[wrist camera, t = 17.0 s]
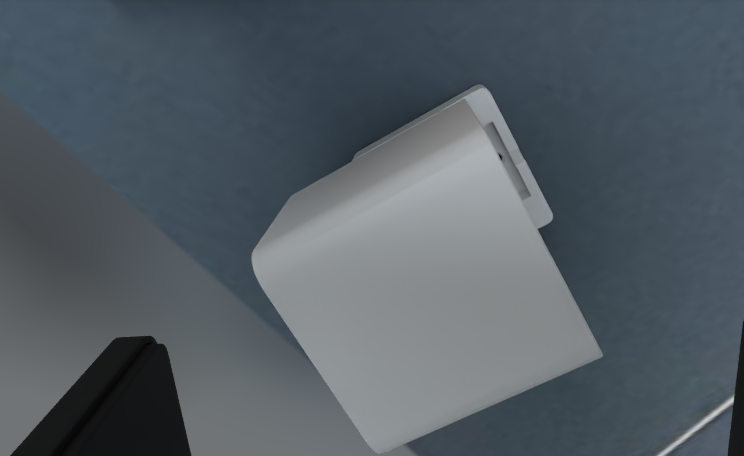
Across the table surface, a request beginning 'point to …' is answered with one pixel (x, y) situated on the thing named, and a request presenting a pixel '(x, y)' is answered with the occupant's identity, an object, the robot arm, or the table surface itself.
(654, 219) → the table surface
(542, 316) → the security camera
